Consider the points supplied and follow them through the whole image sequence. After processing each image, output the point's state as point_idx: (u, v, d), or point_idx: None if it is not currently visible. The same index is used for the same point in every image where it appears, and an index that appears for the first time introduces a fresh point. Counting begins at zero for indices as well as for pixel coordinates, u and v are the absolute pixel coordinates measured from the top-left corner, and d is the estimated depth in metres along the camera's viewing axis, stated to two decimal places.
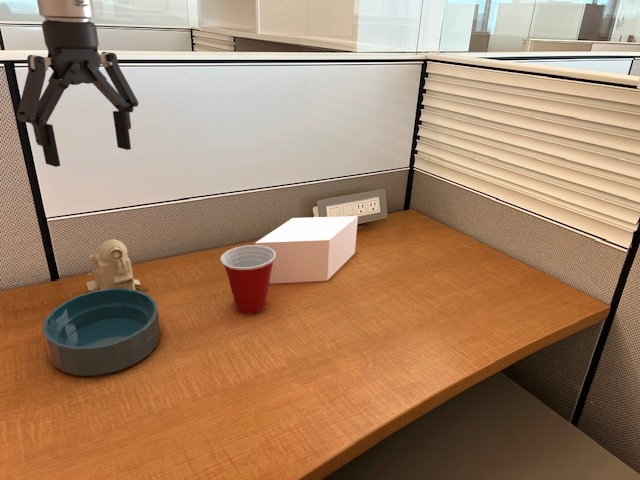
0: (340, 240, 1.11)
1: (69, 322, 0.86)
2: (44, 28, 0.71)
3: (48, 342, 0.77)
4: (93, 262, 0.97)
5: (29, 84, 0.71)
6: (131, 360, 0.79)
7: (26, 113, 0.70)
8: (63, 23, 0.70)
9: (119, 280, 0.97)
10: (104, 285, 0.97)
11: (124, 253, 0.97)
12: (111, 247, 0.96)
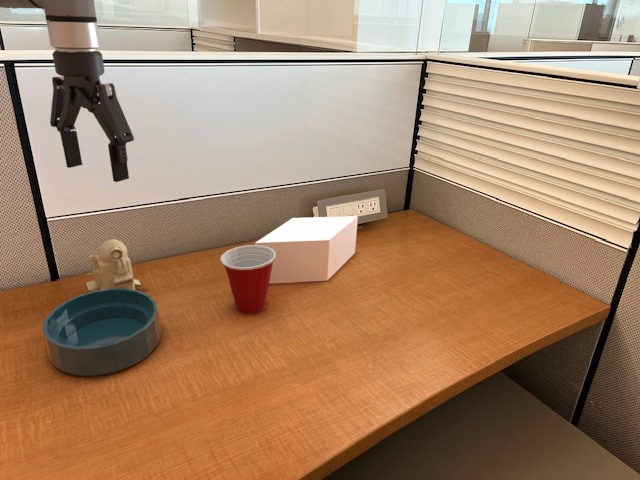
0: (340, 240, 1.11)
1: (69, 322, 0.86)
2: (89, 59, 0.78)
3: (48, 342, 0.77)
4: (93, 262, 0.97)
5: (115, 109, 0.80)
6: (131, 360, 0.79)
7: (130, 133, 0.81)
8: (99, 52, 0.81)
9: (119, 280, 0.97)
10: (104, 285, 0.97)
11: (124, 253, 0.97)
12: (111, 247, 0.96)
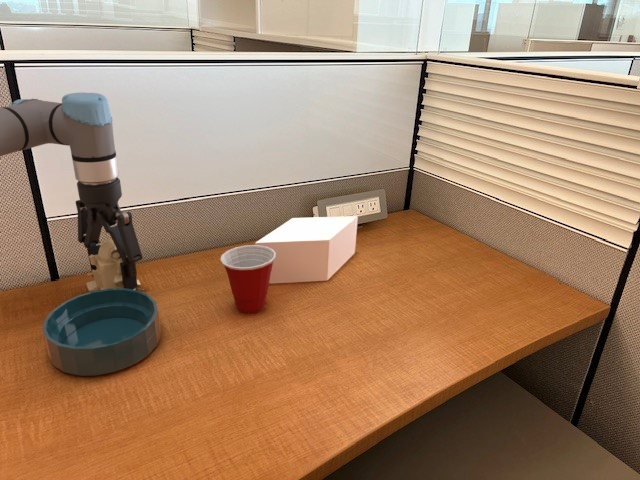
0: (340, 240, 1.11)
1: (69, 322, 0.86)
2: (109, 189, 0.89)
3: (48, 342, 0.77)
4: (93, 262, 0.97)
5: (130, 235, 0.91)
6: (131, 360, 0.79)
7: (140, 254, 0.93)
8: (118, 180, 0.91)
9: (119, 280, 0.97)
10: (104, 285, 0.97)
11: None
12: (111, 247, 0.96)
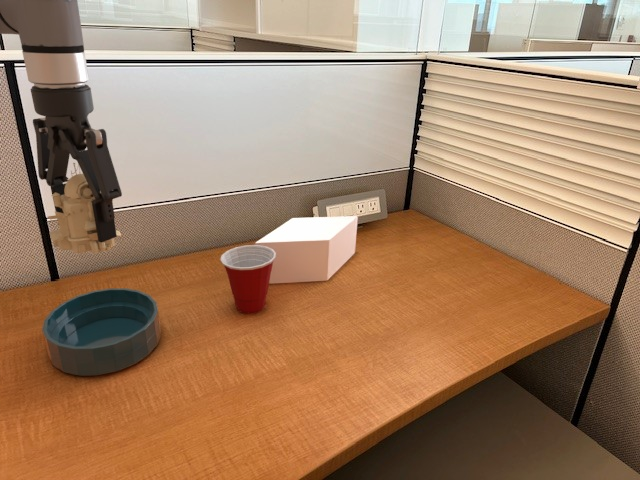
0: (340, 240, 1.11)
1: (69, 322, 0.86)
2: (74, 96, 0.65)
3: (48, 342, 0.77)
4: (58, 203, 0.73)
5: (104, 161, 0.68)
6: (131, 360, 0.79)
7: (119, 188, 0.70)
8: (87, 87, 0.68)
9: (92, 227, 0.73)
10: (72, 233, 0.74)
11: None
12: (81, 182, 0.72)
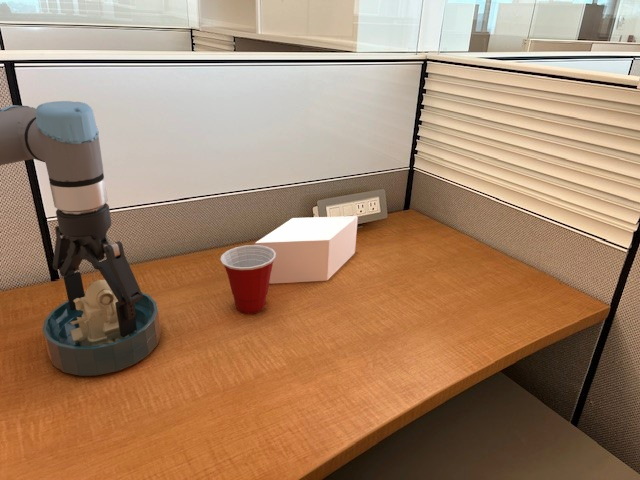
0: (340, 240, 1.11)
1: (69, 322, 0.86)
2: (95, 219, 0.73)
3: (48, 342, 0.77)
4: (79, 307, 0.81)
5: (123, 269, 0.75)
6: (131, 360, 0.79)
7: (139, 291, 0.76)
8: (106, 207, 0.75)
9: (110, 329, 0.81)
10: (92, 334, 0.82)
11: None
12: (100, 290, 0.80)
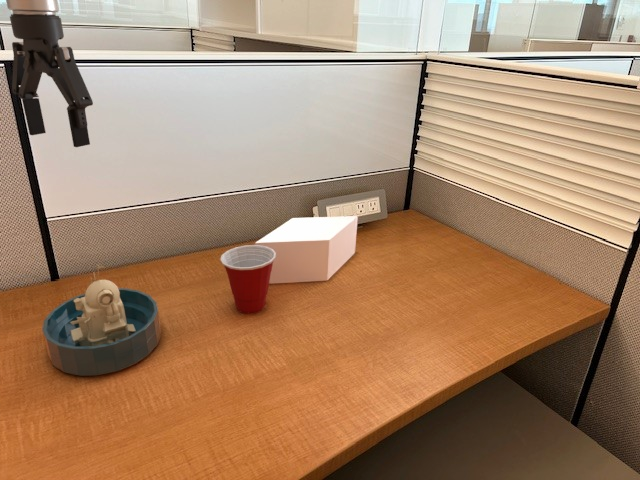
0: (340, 240, 1.11)
1: (69, 322, 0.86)
2: (46, 22, 0.78)
3: (48, 342, 0.77)
4: (79, 307, 0.81)
5: (73, 73, 0.80)
6: (131, 360, 0.79)
7: (89, 97, 0.82)
8: (58, 16, 0.81)
9: (110, 329, 0.81)
10: (92, 334, 0.82)
11: (116, 296, 0.82)
12: (100, 290, 0.80)
